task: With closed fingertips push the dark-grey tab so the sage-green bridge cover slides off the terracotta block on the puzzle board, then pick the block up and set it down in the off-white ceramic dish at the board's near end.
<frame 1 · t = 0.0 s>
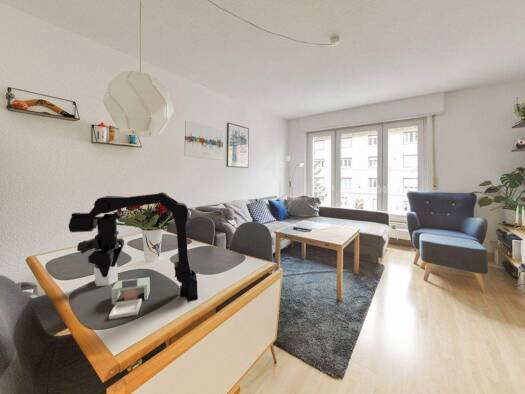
hand: (109, 271, 80), 15 cm above the table, fingers open, 9 cm apart
jar: (106, 284, 100), on the table
dish: (126, 310, 79), resting on board
board: (132, 299, 88), on the table
cover: (131, 287, 87), point 6 cm above the table, slide at 0.0 cm
block: (131, 298, 87), point 1 cm above the table, touching board
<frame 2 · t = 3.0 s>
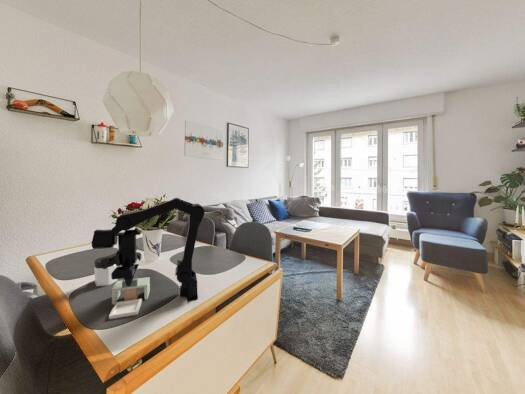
hand: (128, 285, 83), 8 cm above the table, fingers closed
cover: (131, 287, 87), point 6 cm above the table, slide at 0.1 cm, touching gripper
everything else where it was.
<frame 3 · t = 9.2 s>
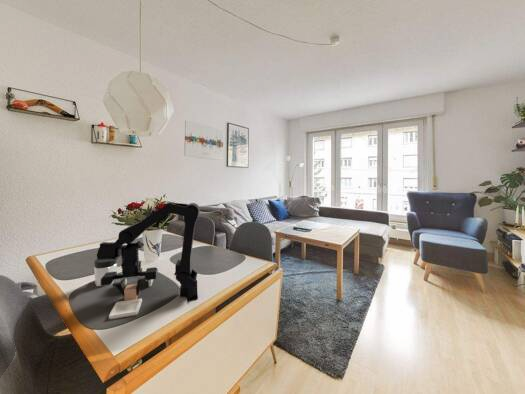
hand: (131, 296, 87), 2 cm above the table, fingers closed on block, 4 cm apart
cover: (137, 275, 97), point 6 cm above the table, slide at 10.8 cm
block: (131, 298, 87), point 1 cm above the table, touching board, gripper
everything else where it was.
when the fingers open (4 cm above the table, at t = 12.8 s): block drops 2 cm, resting on dish.
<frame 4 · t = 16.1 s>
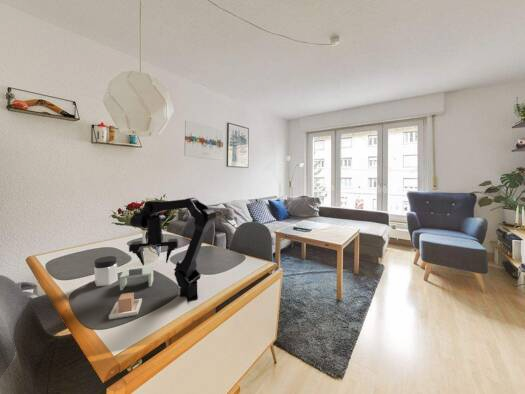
hand: (155, 263, 95), 12 cm above the table, fingers open, 9 cm apart
block: (126, 309, 79), point 2 cm above the table, touching dish
everything else where it was.
at the end: cover slide at 10.8 cm; block 0.0 cm off-centre on the dish, point 0.4 cm above the dish's base; block tilted 0° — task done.
